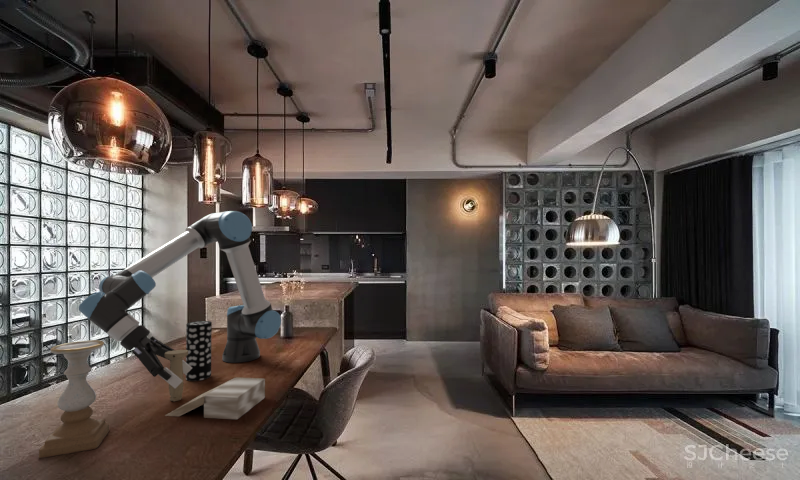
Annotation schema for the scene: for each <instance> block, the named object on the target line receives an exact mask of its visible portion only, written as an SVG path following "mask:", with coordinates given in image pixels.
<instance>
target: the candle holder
mask: <svg viewBox="0 0 800 480" xmlns="http://www.w3.org/2000/svg"><path fill="white" fill-rule="evenodd" d="M104 345H105V342H104V341H103V340H100V339H99V340H98V339H94V340H93V339H91V340H90V339H89V340H79V341H71V342H65V343H61V344H58V345H54V346H52V347H51V348H50V353H52V354H54V355H63V357H64V358H65V359H66V360H67V362H68V366H67V368H66V369H65V371H63V375H64V376H66V378H67V379H68V384H67V385H66V387H65V389H64V390H63V392H62V393H60V396H59V397H58V400H57V407H58V408H59V409H60V410H61V411H64V412H62V414H61V415H60V421H61V423H62V424H60V425H59V426H58V427H57V428H56V429H55V430H53V432H52V433H51V434H50V435H48V437H47V438H46V440H45V441H44V444H43V445H42V446H41V447H40V448H39V450H38V459H44V458H50V457H56V456H57V457H58V456H63V455H68V454H75V453H79V452H86V451H90V450H95V449H97V448H98V447H99V446H100V445H101V443H102V442H103V440H104V439H105V437H106V436H107V435H108V433H109V431H110V422H106V419H105V418H96V419H95V418H92V417H91V416H92V415H94V410H93V408H92V407H90V406H91V405H92V404H94V402H95V401H96V399H97V393H96V391H95V389H94V388H93V387H92V386H91V385H90V384H89V382H88V380H87V377H88V376H89V374H90V371H92V367H90V365H89V363H88V359H89V357H90V355H92V352H93V351H94V350H98V349H100V348H103V347H104Z"/></svg>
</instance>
